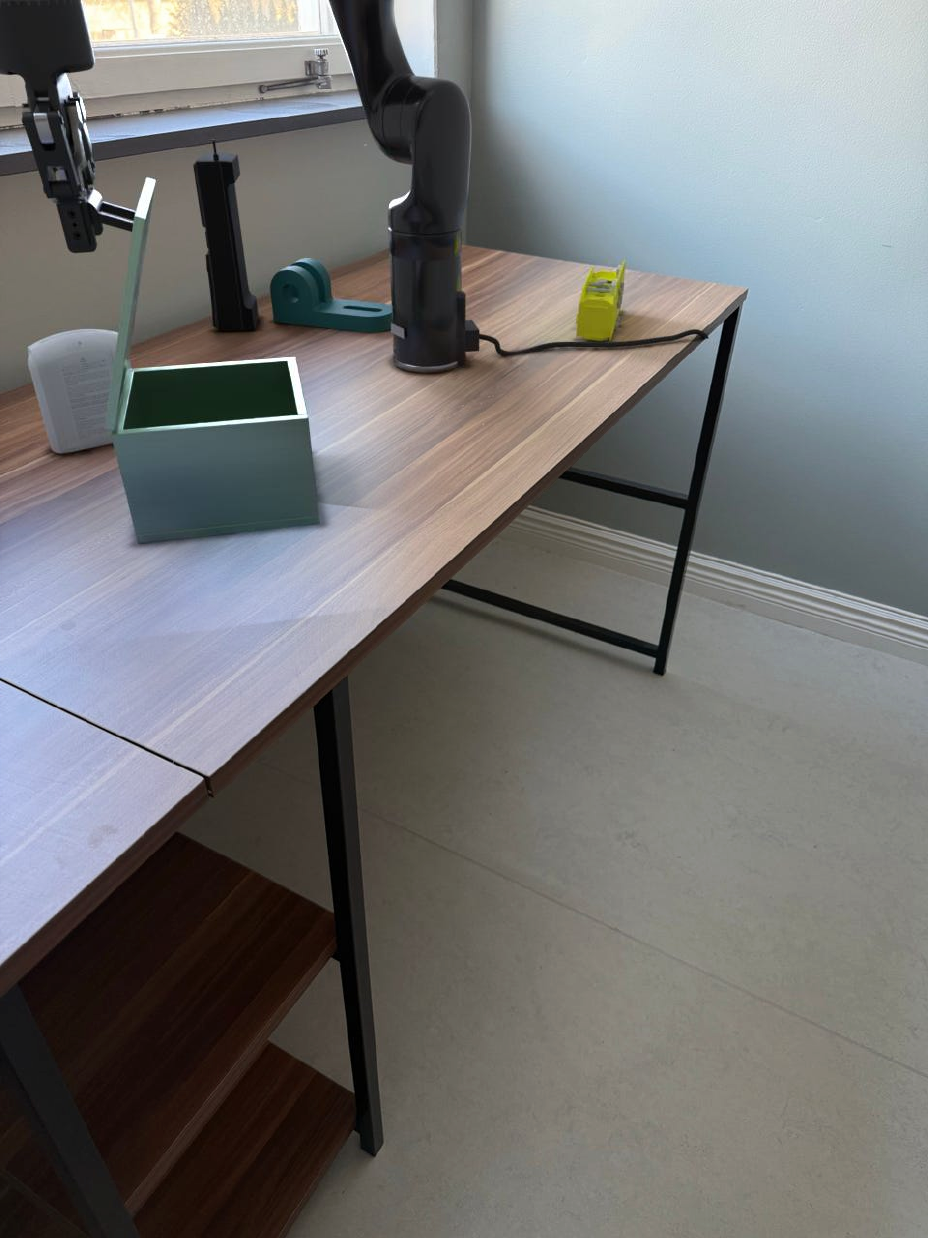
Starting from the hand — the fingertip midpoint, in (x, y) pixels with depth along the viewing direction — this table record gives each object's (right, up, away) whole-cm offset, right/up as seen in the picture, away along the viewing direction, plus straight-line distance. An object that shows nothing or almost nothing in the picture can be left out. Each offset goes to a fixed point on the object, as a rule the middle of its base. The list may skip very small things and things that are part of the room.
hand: (87, 241), depth 74 cm
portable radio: (-3, +13, +60) cm, 61 cm away
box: (+8, -19, +16) cm, 26 cm away
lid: (+3, -4, +4) cm, 6 cm away
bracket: (+12, +14, +61) cm, 64 cm away
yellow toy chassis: (+52, +12, +59) cm, 80 cm away
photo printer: (-10, -12, +26) cm, 30 cm away
